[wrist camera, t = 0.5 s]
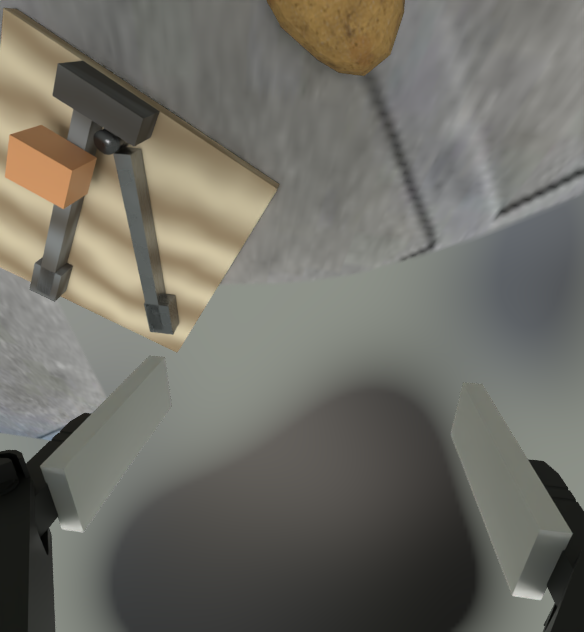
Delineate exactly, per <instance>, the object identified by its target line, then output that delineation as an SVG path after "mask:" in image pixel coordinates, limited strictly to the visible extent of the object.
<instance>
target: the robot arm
mask: <svg viewBox="0 0 584 632" xmlns="http://www.w3.org/2000/svg"><path fill="white" fill-rule="evenodd" d="M171 407H172V403H171V396H170V389H169V382H168V375H167V367H166V361H165V357H158V356H149V357H148V358H147V359H146V360H145V361H144V362H143V363H142V364H141V365H140V366H139V367H138V368H137V369H136V370H135V371H134V372H133V373H132V374H131V375H130V376H129V377H128V378H127V379H126V380H125V381H124V382H123V383H122V384H121V385H120V386H119V387H118V388H117V389H116V390H115V391H114V392H113V393H112V394H111V395H110V396H109V397H108V398H107V399H106V400H105V401H104V402H103V403H102V404H101V405H100V406H99V407H98V408H97V409H96V410H95V411H94V412H93V413H92V414H89V413H84V414H82V415H80V416H78V417H77V418H75V419H73V420H72V421H70V422H69V423H68V424H67V425H66V426H65V427H64V428H63V429H62V430H61V431H60V433H58V434H57V435H55V436H54V437H53V438H52V441H49V442H48V443H47V444H46V445H45V446H44V447H43V448H42V449H41V450H40V451H39V452H38V453H37V454H36V455H35V456H34V457H33V458H32V459H31V460H29V461H28V462H27V463H25V461H24V458H23V455H22V453H21V452H19V451H17V450H6V451H1V452H0V632H55V613H54V587H53V563H52V536H51V532H50V529H49V527H50V526H51V524H52V523H53V522H54V520H55V519H56V518H57V517H58V519H59V522H60V525H61V528H62V529H64V530H71V531H77V532H84V531H85V530H86V528H87V527H88V525H89V524H90V522H91V521H92V519H93V518H94V517H95V515H96V514H97V512H98V511H99V509H100V508H101V506H102V505H103V504H104V503H105V501H106V500H107V498H108V497H109V495H110V494H111V492H112V491H113V490H114V488H115V487H116V485H117V484H118V482H119V481H120V480H121V478H122V477H123V475H124V474H125V472H126V471H127V470H128V468H129V467H130V465H131V464H132V462H133V461H134V460H135V458H136V457H137V455H138V454H139V452H140V451H141V449H142V448H143V446H144V445H145V444H146V442H147V441H148V439H149V438H150V437H151V435H152V434H153V432H154V431H155V430H156V428H157V427H158V425H159V424H160V422H161V421H162V419H163V418H164V416H165V415H166V414H167V412H168V411H169V410H170V408H171ZM451 437H452V439H453V442H454V445H455V447H456V450H457V453H458V455H459V458H460V460H461V463H462V466H463V468H464V471H465V474H466V476H467V479H468V481H469V484H470V487H471V489H472V492H473V495H474V497H475V500H476V503H477V505H478V508H479V510H480V513H481V516H482V518H483V521H484V524H485V526H486V529H487V532H488V534H489V537H490V539H491V542H492V544H493V547H494V550H495V553H496V555H497V558H498V560H499V563H500V566H501V568H502V571H503V574H504V576H505V579H506V581H507V584H508V587H509V589H510V592H511V594H512V596H517V597H523V598H530V599H537V600H541V599H542V597H543V595H544V593H545V590H546V588H547V587H548V589H549V591H550V593H551V595H552V598H553V600H554V602H555V604H554V606H553V608H552V610H551V612H550V614H549V616H548V618H547V620H546V622H545V624H544V626H545V627H544V630H543V632H584V511H583V510H582V508H581V506H580V505H579V503H578V502H576V499H575V498H574V496H573V495H572V493H571V492H570V491H569V490H568V487H567V486H566V484H565V483H564V481H563V480H562V478H561V477H560V475H559V474H558V473H557V472H556V471H554V470H553V469H552V468H551V467H550V466H549V465H548V464H547V463H545V462H544V461H538V460H528V459H527V457H526V456H525V454H524V452H523V451H522V449H521V447H520V446H519V444H518V442H517V441H516V439H515V437H514V436H513V434H512V432H511V431H510V429H509V427H508V426H507V424H506V423H505V421H504V419H503V418H502V416H501V414H500V413H499V411H498V409H497V408H496V406H495V404H494V403H493V401H492V399H491V398H490V396H489V394H488V393H487V391H486V389H485V388H484V386H483V385H482V384H475V383H463V385H462V389H461V394H460V397H459V401H458V406H457V410H456V414H455V418H454V422H453V426H452V430H451Z"/></svg>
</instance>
